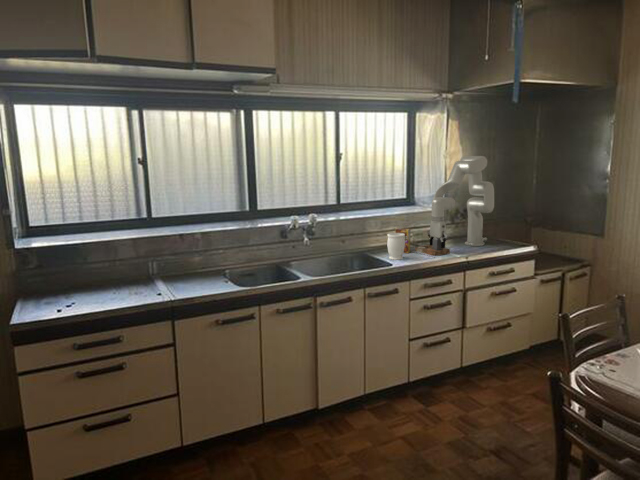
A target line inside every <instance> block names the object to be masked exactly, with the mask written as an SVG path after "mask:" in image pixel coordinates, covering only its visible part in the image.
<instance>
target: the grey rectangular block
mask: <svg viewBox="0 0 640 480" xmlns="http://www.w3.org/2000/svg"><path fill="white" fill-rule="evenodd" d="M441 242H442V241H441V239H440V238H436V237H434V238H433V250H436V251H439V250H442V248H441Z"/></svg>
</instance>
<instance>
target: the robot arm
mask: <svg viewBox="0 0 640 480" xmlns="http://www.w3.org/2000/svg"><path fill="white" fill-rule="evenodd" d="M487 167H488V158H487V157H486V156H483V155H464V156H462V157H461V158H460V160H458V161H456V162H454V164H453V166H452V168H451V171H450V174H449V175H448V178H447V181H445V182H444V183H442V184H441V185H440V186H439V187H438V188H437V189H436V191H435V193H434V195H433V198H432V201H431V221H430V225H429V230H427V232H426V233H427V236H428V239H429V245H430V246H431V245H433V239H435V238H440V239H441V241H442V242H441V248H445V247H446V242H447V240H448V238H449V235H448V233H447V225H446V222H445V211H447V210H448V211H451V210H453V209H454V208H455V207H456V200H455V199H454V198H453V197H447V196H445V194H446V193H449V192H451V191H453V190H455V189H458V188H460V187H461V186H462V185H461V184H462V183H463V180H464V177H465V175H467V176H468V192H469V193H468V194H470V196H472V197H470V198H469V199H467V201H466V209H467V239H466V241H465V242H464V245H465V246H470V247H482V246H485V242H484V241H487V240H488V238H487V237H483V231H484V230H483V229H484V227H483V225H484V218H483V215H482V213H485V214H489V213H492V212H493V211H494V209H495V187H494V185H493V183H492V182H490V181H483V173H482V171H483V170H485V168H487ZM473 196H475V197H473ZM476 196H477V197H476Z"/></svg>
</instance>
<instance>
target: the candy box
mask: <svg viewBox="0 0 640 480" xmlns="http://www.w3.org/2000/svg"><path fill="white" fill-rule="evenodd" d="M394 233H403V234H405V236H404V240H405V247H404V253H403V254H410V253H411V228H402V227H396V228H395V230H394Z"/></svg>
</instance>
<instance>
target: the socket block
mask: <svg viewBox="0 0 640 480" xmlns="http://www.w3.org/2000/svg"><path fill="white" fill-rule="evenodd" d="M446 248H447V247H446ZM446 248H442V250H439V251H436V250H433V245H431V246H430V244H425V245H420V246H415V248H414V250H415V253H416V254H420V255H424V256H427V257H431V258H434V259H435V258H436V257H437V256H443V255H444V256H445V255H448V254H450V251H451V248H450V249H446Z"/></svg>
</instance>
